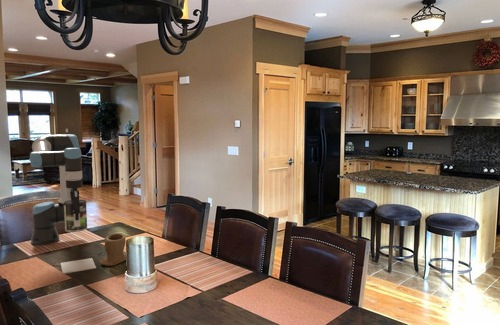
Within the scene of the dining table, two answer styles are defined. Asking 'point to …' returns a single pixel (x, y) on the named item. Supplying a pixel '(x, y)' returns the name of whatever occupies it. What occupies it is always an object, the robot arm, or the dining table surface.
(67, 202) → the coffee can
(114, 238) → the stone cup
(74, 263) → the grey mat
